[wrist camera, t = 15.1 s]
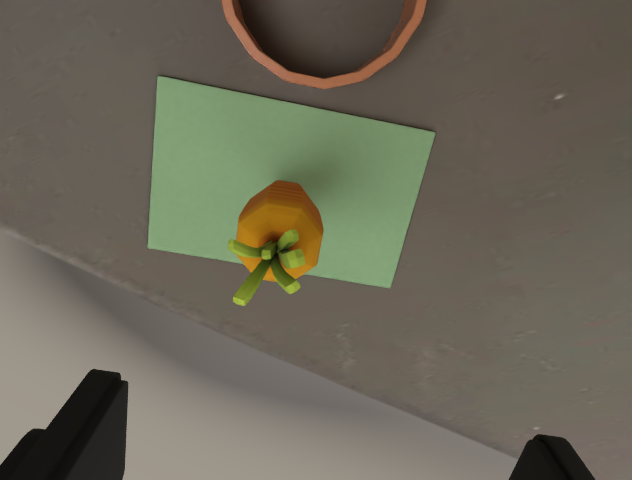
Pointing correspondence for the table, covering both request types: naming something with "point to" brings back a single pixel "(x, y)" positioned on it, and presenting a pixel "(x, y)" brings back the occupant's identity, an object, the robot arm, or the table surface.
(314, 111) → the napkin
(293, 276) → the carrot
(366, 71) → the pan
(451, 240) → the table surface
